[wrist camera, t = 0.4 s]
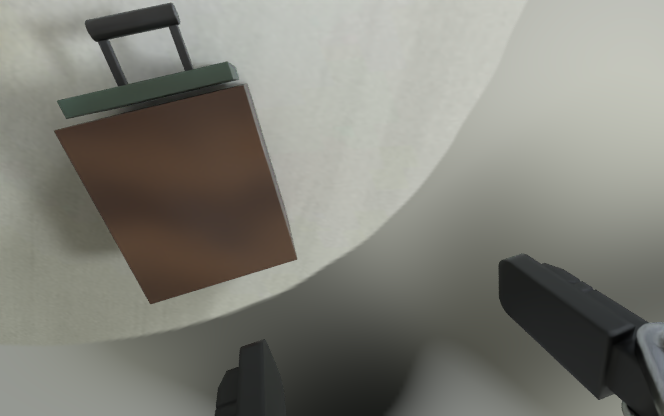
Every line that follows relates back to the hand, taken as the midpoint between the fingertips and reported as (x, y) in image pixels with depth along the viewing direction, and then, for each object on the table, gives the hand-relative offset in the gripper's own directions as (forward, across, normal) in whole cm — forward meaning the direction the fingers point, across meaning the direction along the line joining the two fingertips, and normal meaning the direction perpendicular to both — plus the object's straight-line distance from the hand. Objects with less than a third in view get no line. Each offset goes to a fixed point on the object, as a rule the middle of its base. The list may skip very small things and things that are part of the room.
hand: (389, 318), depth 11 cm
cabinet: (+28, +9, 0) cm, 29 cm away
